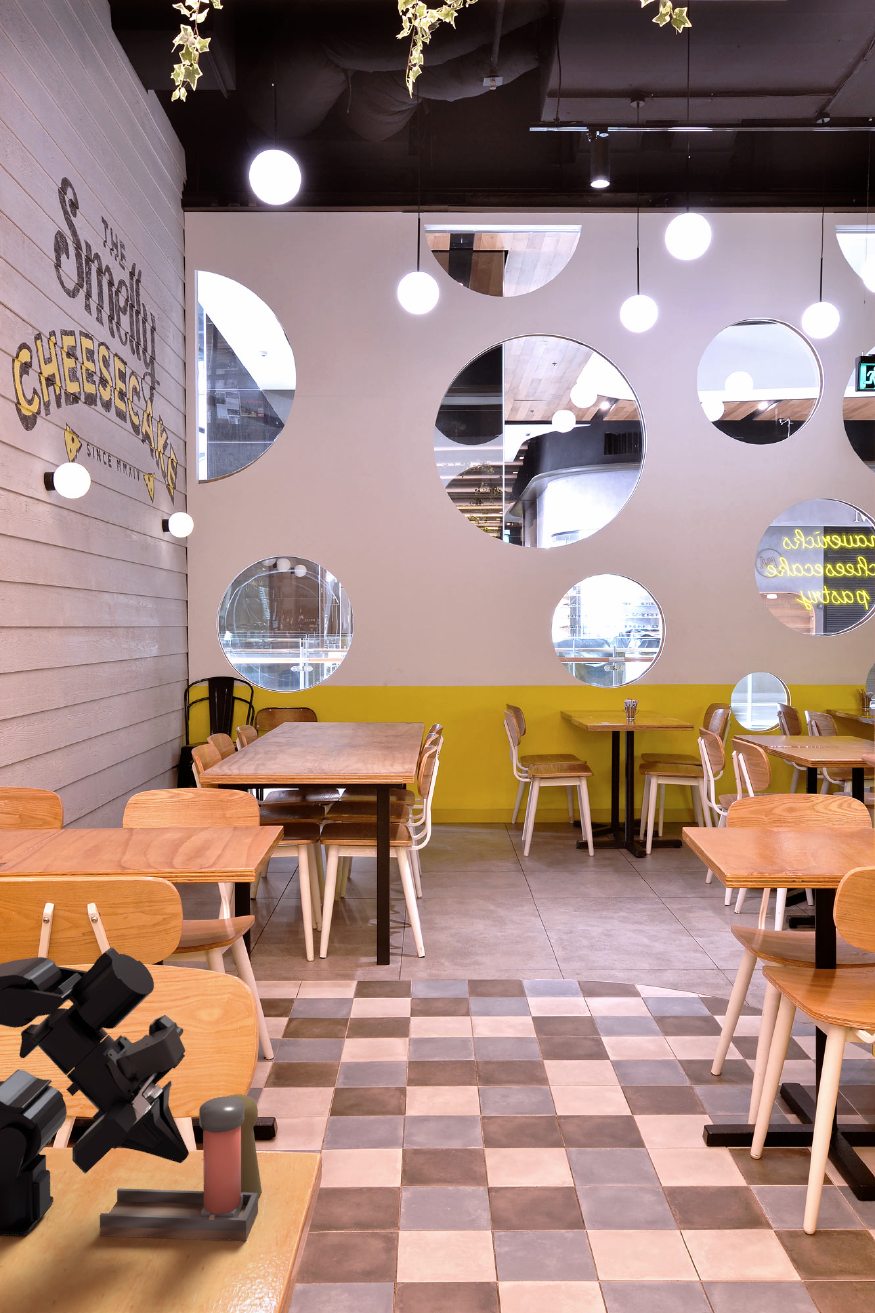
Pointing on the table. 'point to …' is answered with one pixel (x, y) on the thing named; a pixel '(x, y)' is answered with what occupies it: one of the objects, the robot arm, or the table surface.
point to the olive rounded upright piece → (249, 1147)
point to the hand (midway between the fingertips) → (185, 1158)
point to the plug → (222, 1156)
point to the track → (174, 1216)
